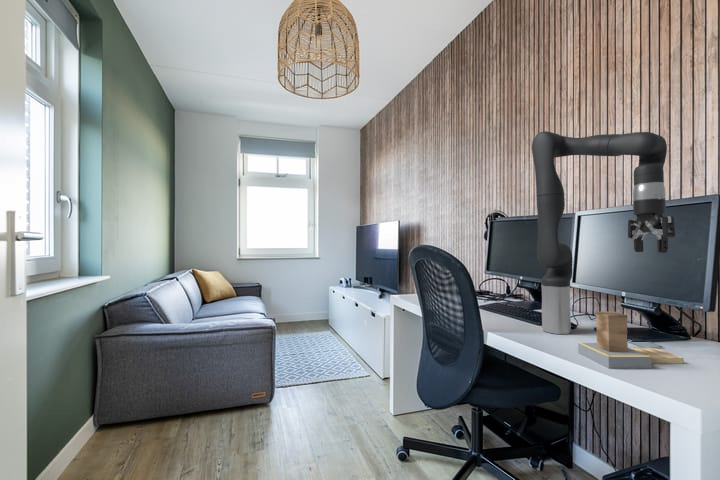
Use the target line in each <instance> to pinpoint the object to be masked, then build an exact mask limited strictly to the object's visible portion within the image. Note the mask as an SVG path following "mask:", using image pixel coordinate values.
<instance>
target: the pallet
mask: <svg viewBox="0 0 720 480" xmlns="http://www.w3.org/2000/svg"><path fill="white" fill-rule="evenodd" d="M628 348H630V349H632V350H635V351H637V352H640V353H643V354H645V355H648V356H651V365H652V364H653V365H654V364H657V365H663V364H664V365H665V364H669V365H672V364H673V365H677V364H680V365H681V364H683V365H684V363H685V360H684V359H685V358H684V357H681V356H679V355H676V354H673V353H671V352H669V351H665V350H662V349H657V348H654V347H636V346H629V347H628Z"/></svg>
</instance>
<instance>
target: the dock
mask: <svg viewBox="0 0 720 480" xmlns="http://www.w3.org/2000/svg"><path fill="white" fill-rule="evenodd" d="M577 352H578V354H580V355H582V356H583V357H586V358H588V359H589V360H591V361H594V362H595V363H597V364H600V365H601V366H603V367H605V368H607V369H652V364H651V356H648V355H645V354H643V353H640V352H637V351H635V350H632V349H630V348H628V352H608V351H606V350H603V349H601V348H599V347H597V342H577Z"/></svg>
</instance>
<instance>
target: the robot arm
mask: <svg viewBox="0 0 720 480" xmlns="http://www.w3.org/2000/svg"><path fill="white" fill-rule="evenodd" d="M667 145H668V144H667V141H666V139H665V137H664V136H662V135H659V134H656V133H654V132H651V131H639V132H638V131H637V132H629V133H623V134H620V133H616V134H615V133H610V134H609V133H607V134H597V135H596V134H595V135H589V136H584V137H572V136H564V135H560V134H558V133H555V132H552V131H546V130H545V131H541V132H538V133H537V134H536V135H535V136H534V138H533V140H532V142H531V154H532V159H533V165H534V172H535V176H534V177H535V188H536V190H535V191H536V193H535V194H536V211H537V244H536V245H537V246H536V257H537V258H536V259H537V260H538V263H539V265H541V266H542V267H544V268H546V269H547V270H546V273H545V275H544V276H542V278H541V328H542V331H543V332H545V333H549V334H553V335H554V334H555V335H568V334H571V332H572V331H571V330H572V328H571V327H572V322H571V321H572V320H571V314H572V313H571V280H572V277H573V253H572V250H571V248H570V246H568V245H567V244H566V243H561V242H559V233H558V232H559V225H560V223H561V220H562V217H563V214H564V211H565V191H564V186H563V183H562V181H561V179H560V177H559V174H558V173H557V170H556V167H555V159H557V158H561V157H569V156H593V157H619V156H635V157H637V156H638V165H637V166H636V167H635V168H634V170H633V190H632V191H633V192H632V206H633V210H632V211H633V215H634V216H636V219H629V220H628V221H627V238H628V239H632V241H633V249H634V252H635V253H643V252H644V240H643V239H644V238H645V236H646V235H648V234H649V233H652V234H653V235H654V236H655V237H656V238H657V240H656V241H657V242H656V243H657V253H660V254H661V253H665V254H666V253H668V251H669V250H668V249H669V244H668V243H669V239H670V238H674V237H676V229H675V218H674V216H672V215H670V216H669V215H668V216H667V215H665V216H664V215H663V214H666V212H667V203H666V187H665V180H664V179H665V177H664V176H665V174H664V173H665V172H664V167H665V166H664V165H665V162H666V160H667V159H666V157H667V152H668V146H667ZM668 230H669V231H668Z"/></svg>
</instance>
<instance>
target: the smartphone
mask: <svg viewBox="0 0 720 480" xmlns="http://www.w3.org/2000/svg"><path fill="white" fill-rule="evenodd" d="M627 343H628V345H631V346H632V347H654V348H657V349H659V350H662V349H665V347H664V346H662V345H659V344H657V343H654V342H651V341H649V342H631V341H627Z"/></svg>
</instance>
